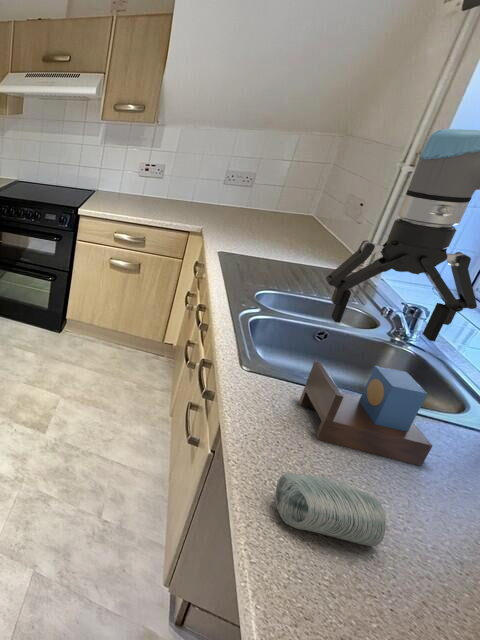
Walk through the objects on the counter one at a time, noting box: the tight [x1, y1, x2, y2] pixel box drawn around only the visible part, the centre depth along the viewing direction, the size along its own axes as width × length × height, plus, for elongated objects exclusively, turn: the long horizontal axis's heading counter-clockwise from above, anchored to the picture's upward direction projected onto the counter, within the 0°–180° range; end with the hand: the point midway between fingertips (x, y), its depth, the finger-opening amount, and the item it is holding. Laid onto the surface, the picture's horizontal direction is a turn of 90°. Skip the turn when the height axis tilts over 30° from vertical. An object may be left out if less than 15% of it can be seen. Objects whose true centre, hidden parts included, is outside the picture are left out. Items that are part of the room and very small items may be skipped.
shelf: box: [298, 361, 433, 467], centre depth 83 cm, size 16×12×11 cm
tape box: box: [359, 365, 428, 432], centre depth 81 cm, size 5×7×9 cm
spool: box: [275, 472, 387, 547], centre depth 64 cm, size 14×10×10 cm
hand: (380, 328), depth 79 cm, fingers open, 13 cm apart
